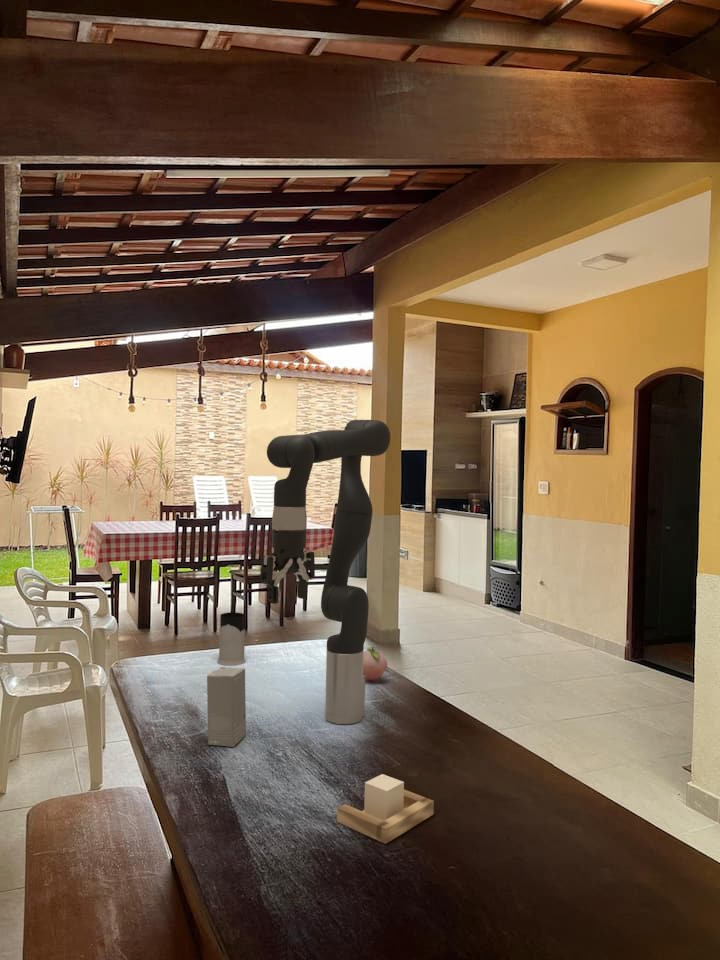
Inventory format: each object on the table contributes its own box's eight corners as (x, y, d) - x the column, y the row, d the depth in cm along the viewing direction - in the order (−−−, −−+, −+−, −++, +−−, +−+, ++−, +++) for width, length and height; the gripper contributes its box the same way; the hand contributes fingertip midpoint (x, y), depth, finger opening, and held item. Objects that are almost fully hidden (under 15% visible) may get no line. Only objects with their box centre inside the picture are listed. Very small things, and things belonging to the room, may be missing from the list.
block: (381, 806, 134) (382, 773, 134) (403, 815, 131) (403, 782, 131) (364, 815, 130) (364, 782, 130) (385, 825, 127) (386, 791, 127)
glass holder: (213, 664, 226) (214, 616, 226) (229, 653, 240) (229, 608, 240) (240, 666, 225) (241, 618, 225) (254, 655, 239) (255, 609, 239)
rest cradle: (385, 795, 139) (386, 782, 139) (433, 814, 132) (433, 800, 132) (336, 821, 128) (337, 807, 128) (385, 843, 121) (386, 829, 121)
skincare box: (234, 748, 160) (235, 677, 160) (203, 745, 162) (205, 674, 162) (247, 734, 169) (248, 667, 168) (218, 731, 170) (219, 664, 170)
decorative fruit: (351, 678, 215) (352, 644, 215) (376, 675, 219) (377, 642, 219) (365, 687, 207) (366, 652, 207) (390, 684, 210) (391, 649, 210)
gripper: (300, 524, 167) (298, 594, 167) (253, 527, 156) (251, 602, 156) (324, 526, 162) (322, 599, 162) (277, 530, 151) (275, 607, 152)
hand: (287, 600), depth 159 cm, fingers open, 8 cm apart
